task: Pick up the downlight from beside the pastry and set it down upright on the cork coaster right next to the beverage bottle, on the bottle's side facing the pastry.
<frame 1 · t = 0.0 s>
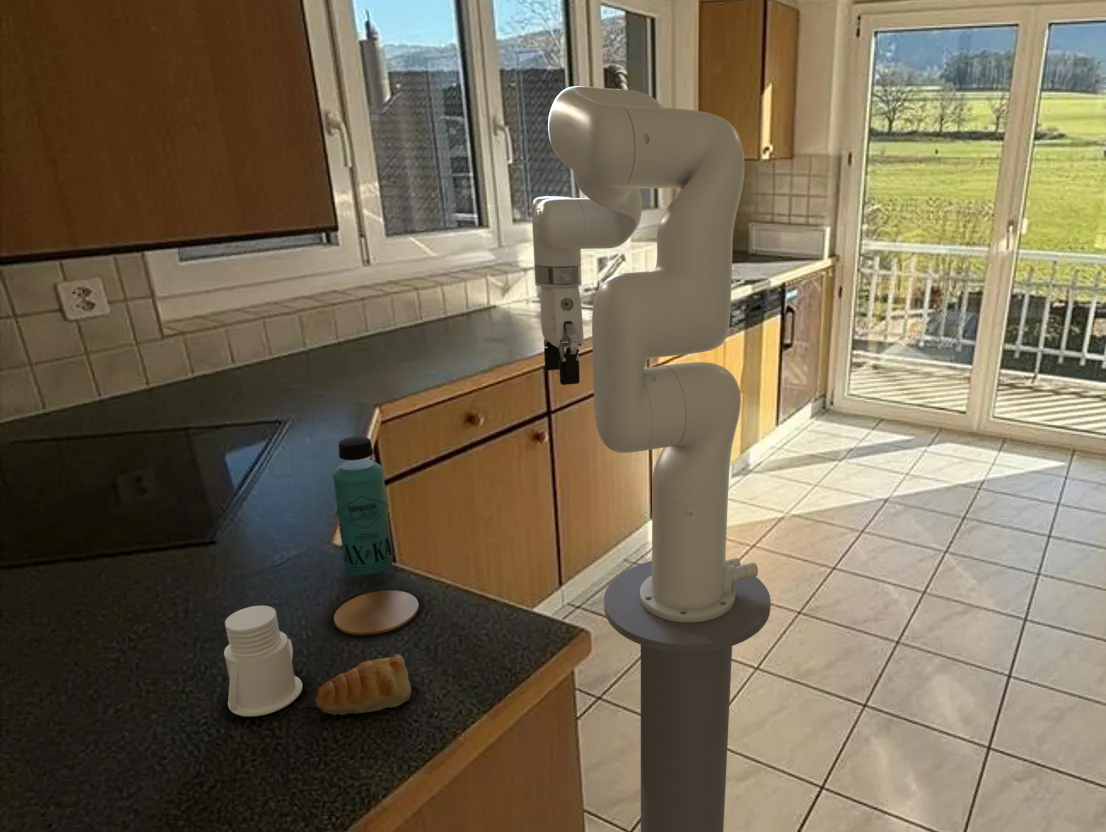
hand: (561, 376, 135), 20 cm above the worktop, tool pointing down, fingers open, 9 cm apart
cork coaster: (377, 613, 101), on the worktop
beverage bottle: (371, 574, 110), on the worktop
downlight: (266, 698, 85), on the worktop
pastry: (372, 698, 86), on the worktop
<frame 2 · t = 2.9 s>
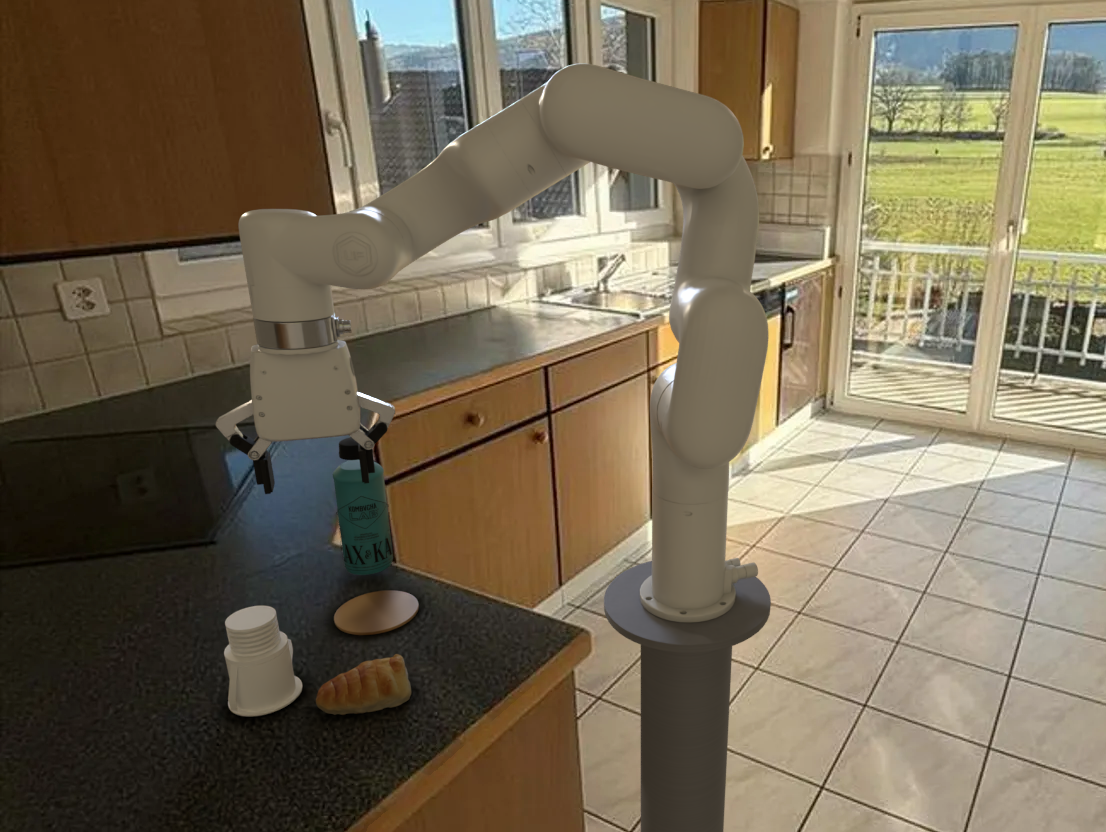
hand: (318, 484, 88), 21 cm above the worktop, tool pointing down, fingers open, 9 cm apart
nothing on the worktop moved.
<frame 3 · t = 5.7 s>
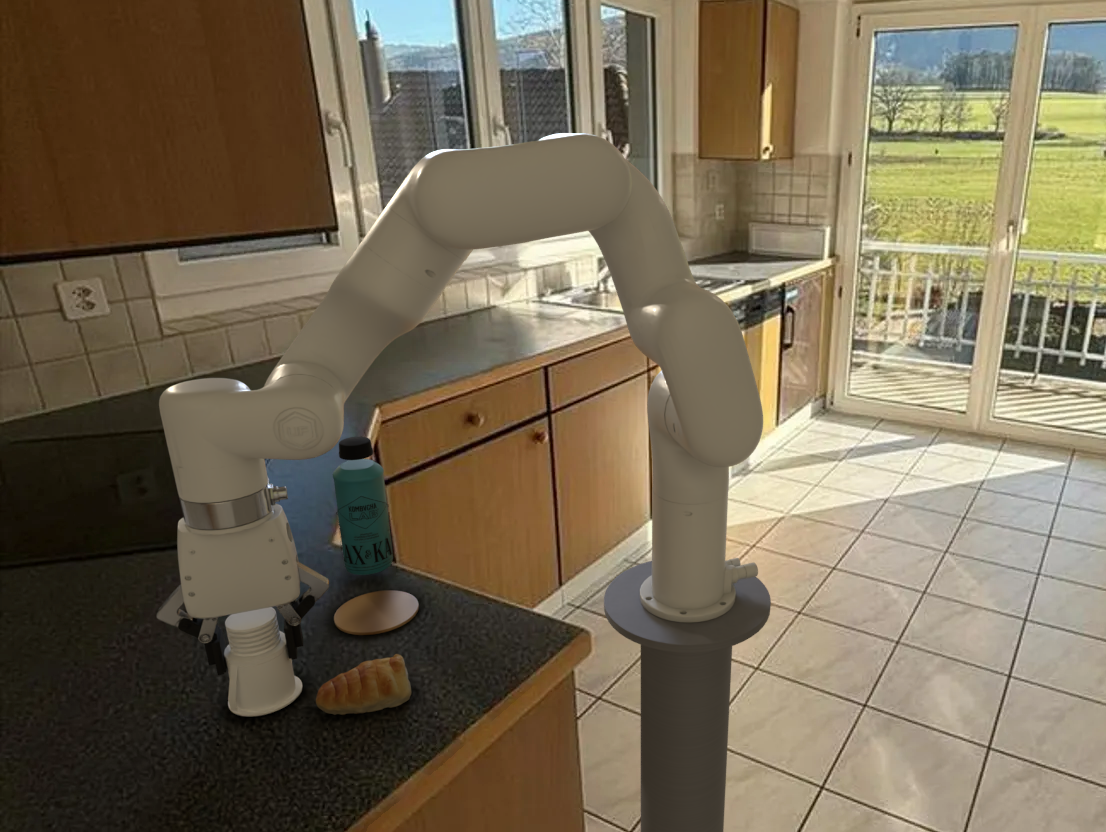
hand: (258, 658, 83), 5 cm above the worktop, tool pointing down, fingers closed on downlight, 5 cm apart
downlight: (266, 698, 85), on the worktop, touching gripper
everything else where it was.
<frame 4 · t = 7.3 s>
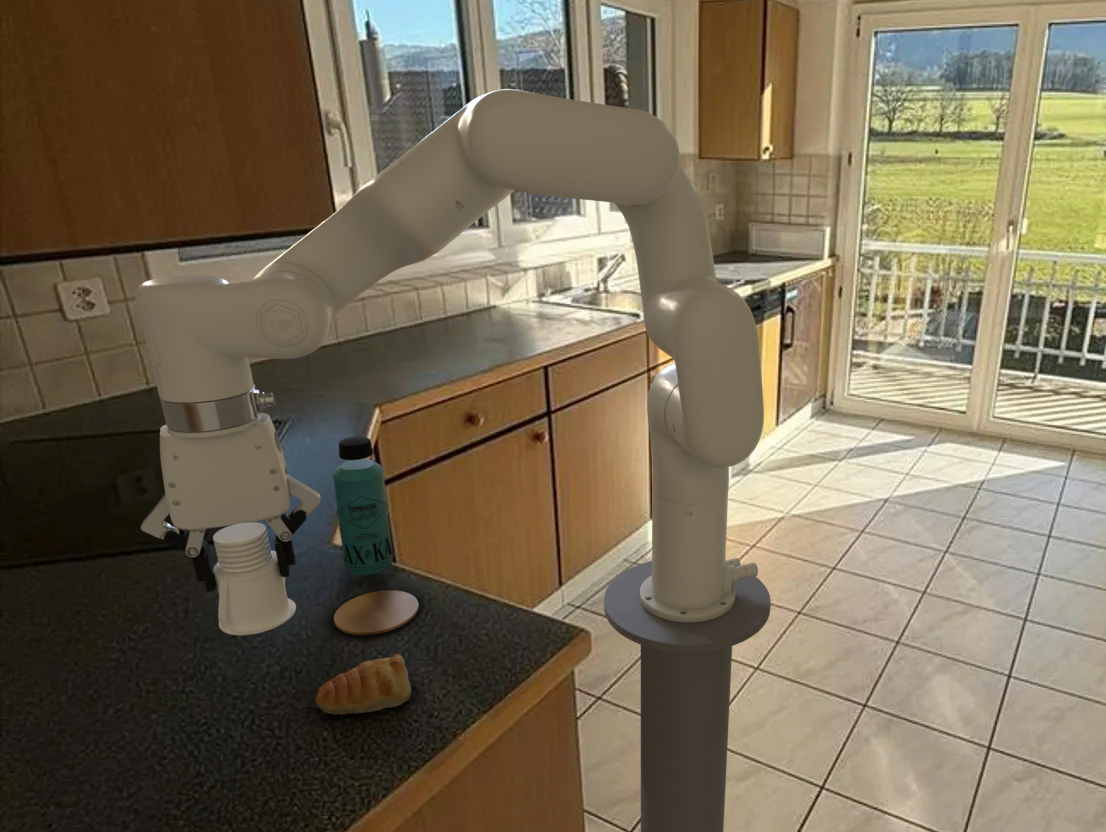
hand: (249, 576, 80), 15 cm above the worktop, tool pointing down, fingers closed on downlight, 5 cm apart
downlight: (259, 619, 82), point 9 cm above the worktop, touching gripper
everything else where it was.
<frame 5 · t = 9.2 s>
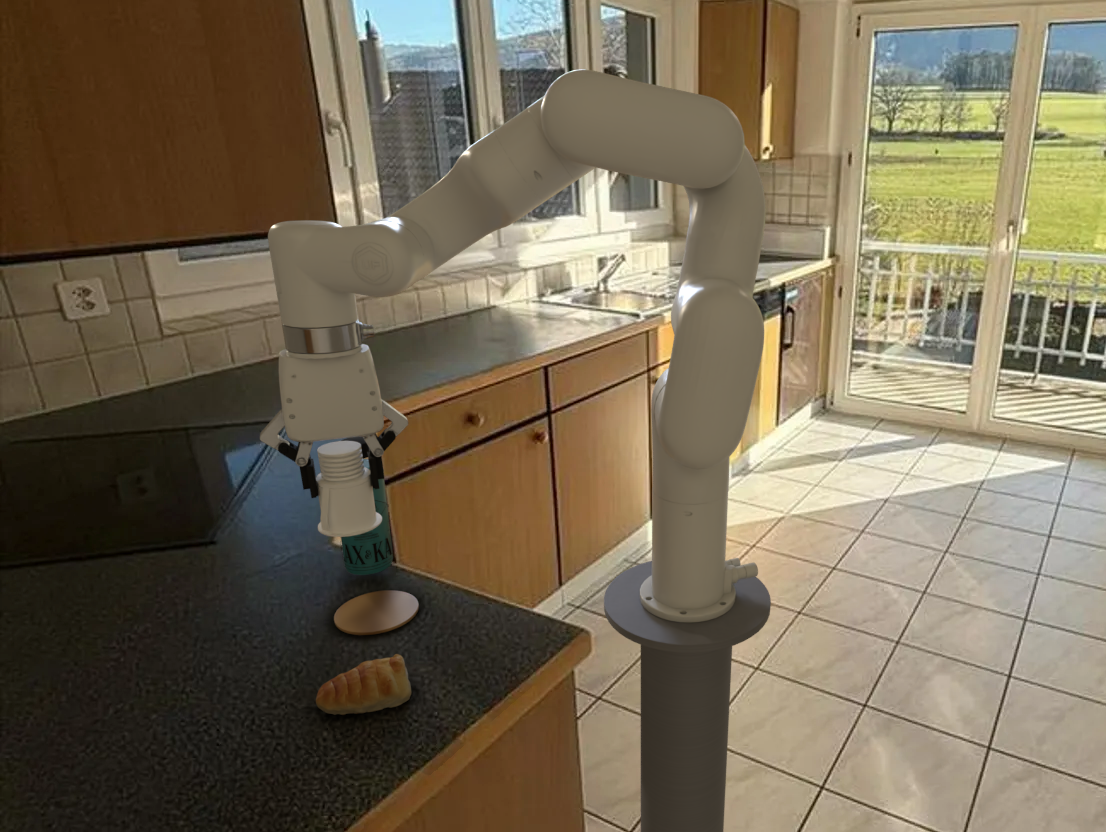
hand: (345, 487, 92), 19 cm above the worktop, tool pointing down, fingers closed on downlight, 5 cm apart
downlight: (351, 527, 94), point 13 cm above the worktop, touching gripper
everything else where it was.
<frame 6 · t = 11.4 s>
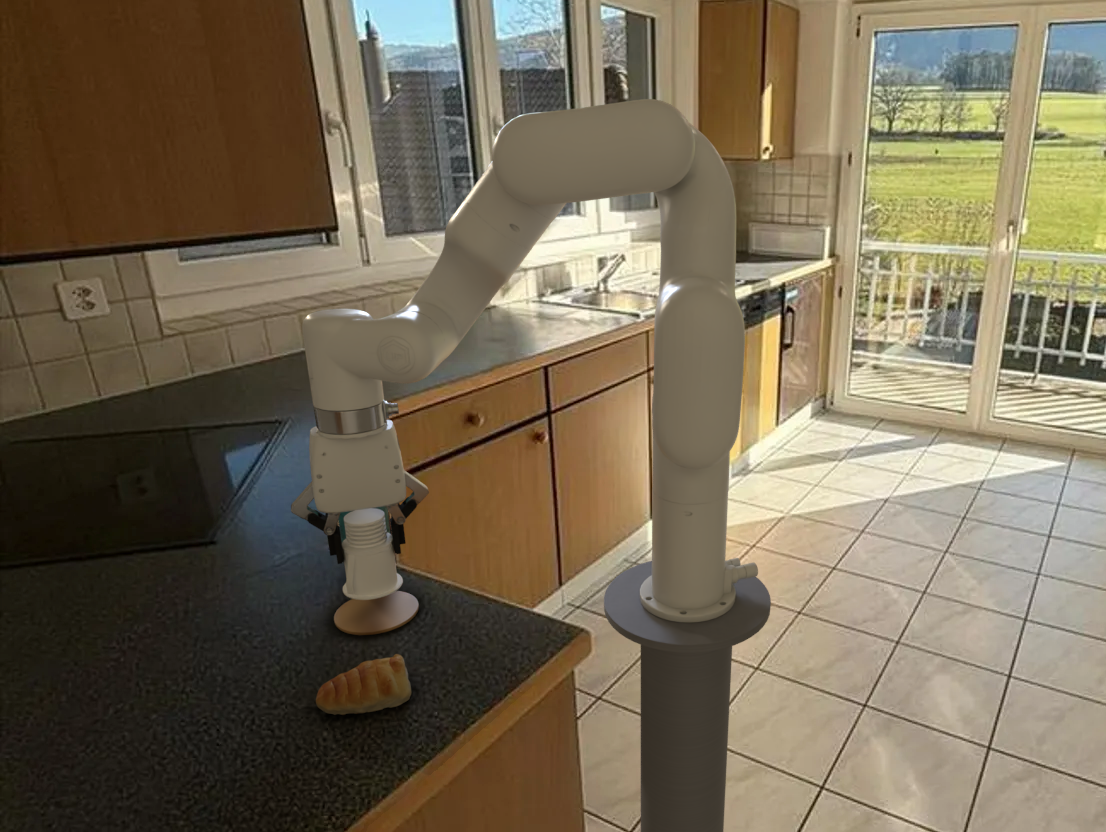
hand: (368, 552, 98), 9 cm above the worktop, tool pointing down, fingers closed on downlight, 5 cm apart
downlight: (373, 588, 100), point 4 cm above the worktop, touching gripper
everything else where it was.
when the fingers open (5 cm above the worktop, at t = 12.7 s): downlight stays where it is, resting on cork coaster.
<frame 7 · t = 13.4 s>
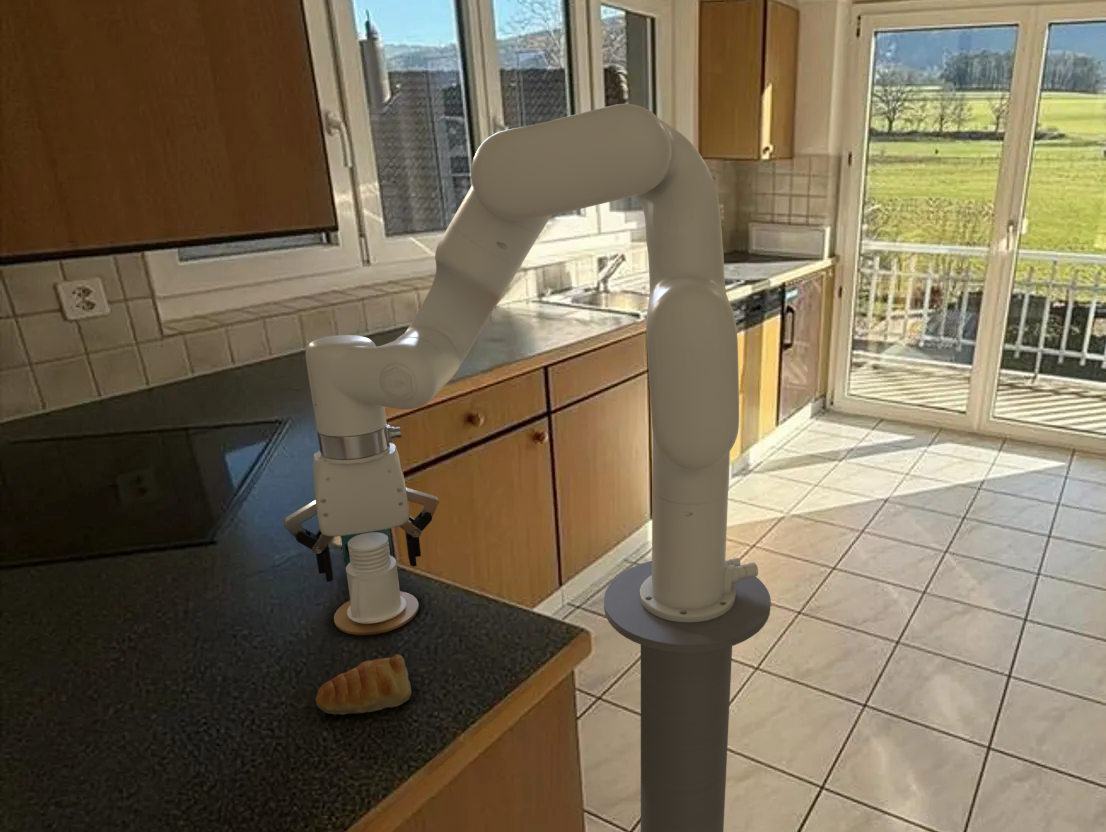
hand: (371, 569, 99), 6 cm above the worktop, tool pointing down, fingers open, 9 cm apart
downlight: (377, 611, 101), resting on cork coaster
everything else where it was.
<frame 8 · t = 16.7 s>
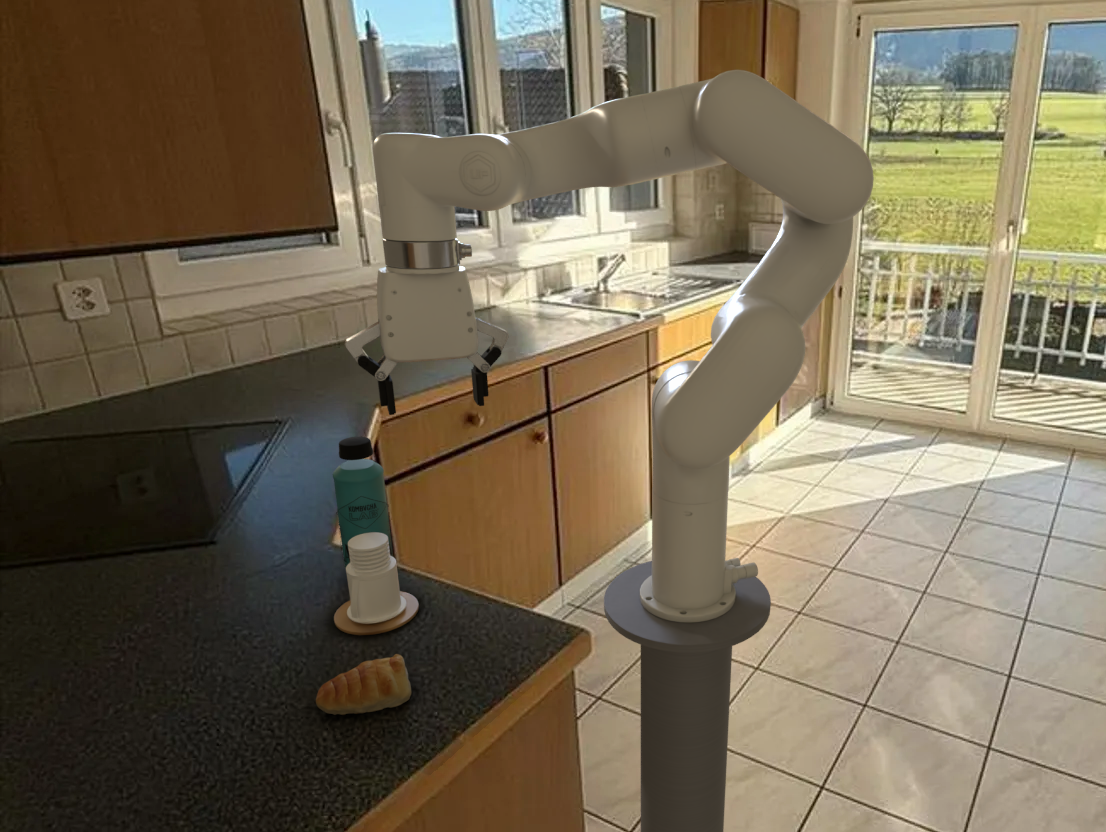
hand: (436, 407, 91), 28 cm above the worktop, tool pointing down, fingers open, 9 cm apart
nothing on the worktop moved.
at the end: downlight inside the target area on the worktop beside the beverage bottle (0.1 cm from its centre), on the worktop; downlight tilted 0°; beverage bottle moved 0.2 cm from its start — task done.
